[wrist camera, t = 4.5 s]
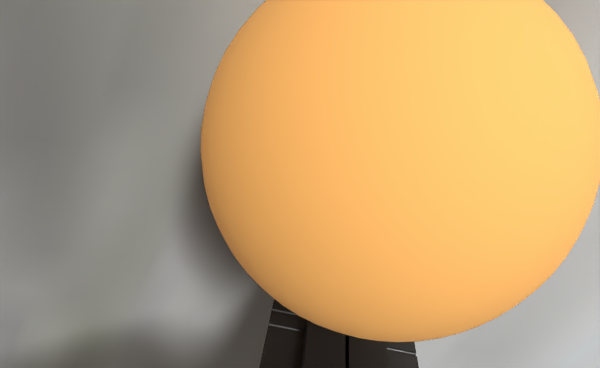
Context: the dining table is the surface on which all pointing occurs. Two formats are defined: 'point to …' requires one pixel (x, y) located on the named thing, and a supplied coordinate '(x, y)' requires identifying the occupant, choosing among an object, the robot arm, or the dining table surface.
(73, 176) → the dining table surface
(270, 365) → the robot arm
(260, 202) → the ball
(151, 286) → the dining table surface
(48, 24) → the dining table surface
